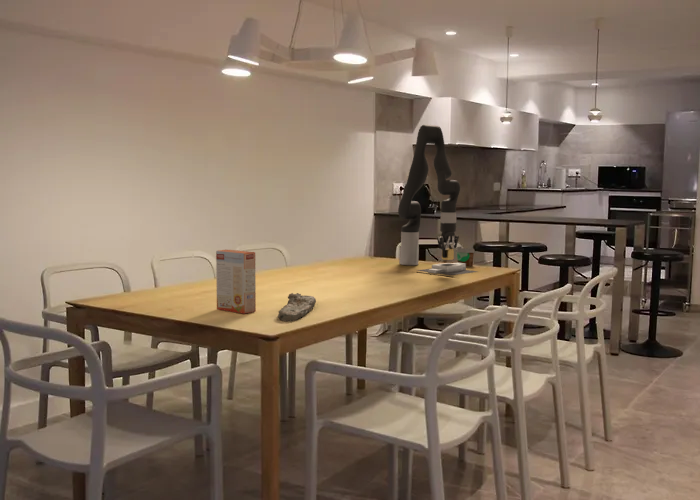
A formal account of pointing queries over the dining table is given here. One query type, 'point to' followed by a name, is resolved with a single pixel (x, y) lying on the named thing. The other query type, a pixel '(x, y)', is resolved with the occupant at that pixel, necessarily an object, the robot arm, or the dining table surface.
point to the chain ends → (447, 268)
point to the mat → (448, 273)
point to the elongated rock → (296, 307)
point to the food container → (465, 255)
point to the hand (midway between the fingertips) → (447, 257)
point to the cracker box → (236, 281)
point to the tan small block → (449, 254)
